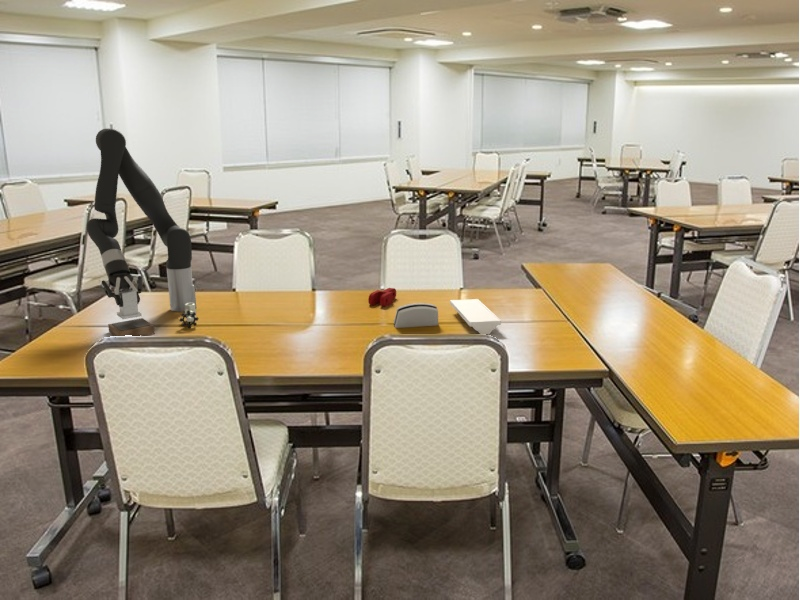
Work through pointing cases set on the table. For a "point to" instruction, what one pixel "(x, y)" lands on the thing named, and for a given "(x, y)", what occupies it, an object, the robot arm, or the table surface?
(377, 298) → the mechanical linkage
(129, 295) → the block
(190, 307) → the valve
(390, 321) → the table surface
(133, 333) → the stand
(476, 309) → the shelf
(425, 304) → the grey napkin holder
